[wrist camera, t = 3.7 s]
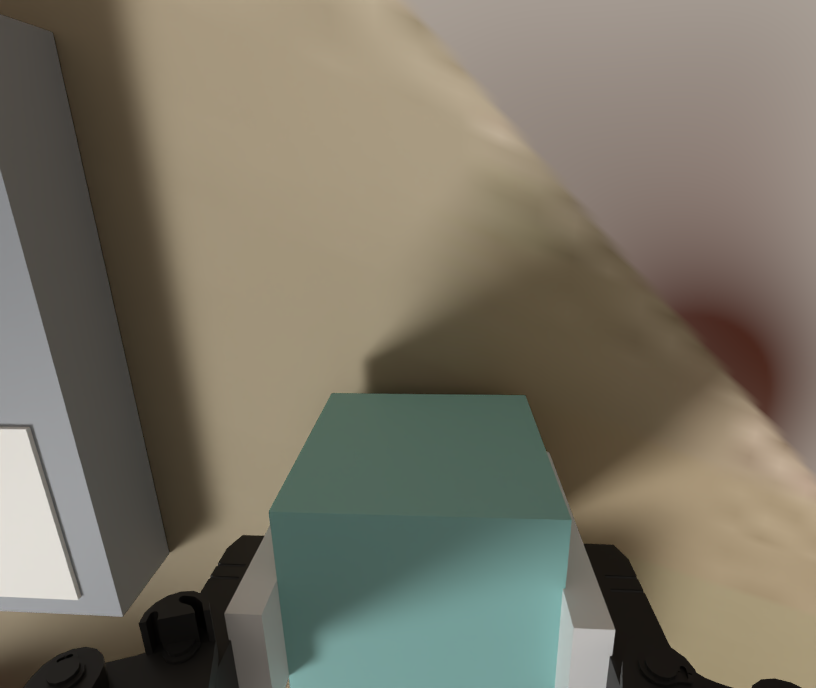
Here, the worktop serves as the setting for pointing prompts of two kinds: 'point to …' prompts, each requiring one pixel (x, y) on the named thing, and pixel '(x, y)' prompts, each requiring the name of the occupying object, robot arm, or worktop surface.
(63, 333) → the plinth
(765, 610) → the worktop surface
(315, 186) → the worktop surface
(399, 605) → the teal block
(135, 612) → the worktop surface
